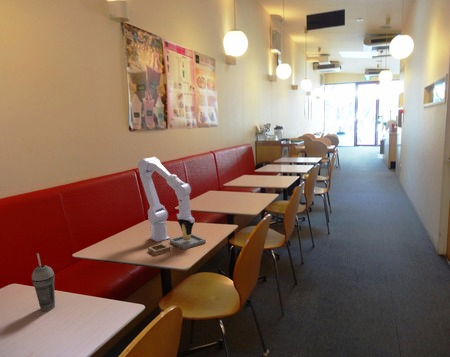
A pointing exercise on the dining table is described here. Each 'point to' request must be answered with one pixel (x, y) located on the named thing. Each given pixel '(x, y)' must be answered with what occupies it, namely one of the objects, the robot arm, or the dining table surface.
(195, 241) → the tray
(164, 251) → the socket block
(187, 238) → the pin
